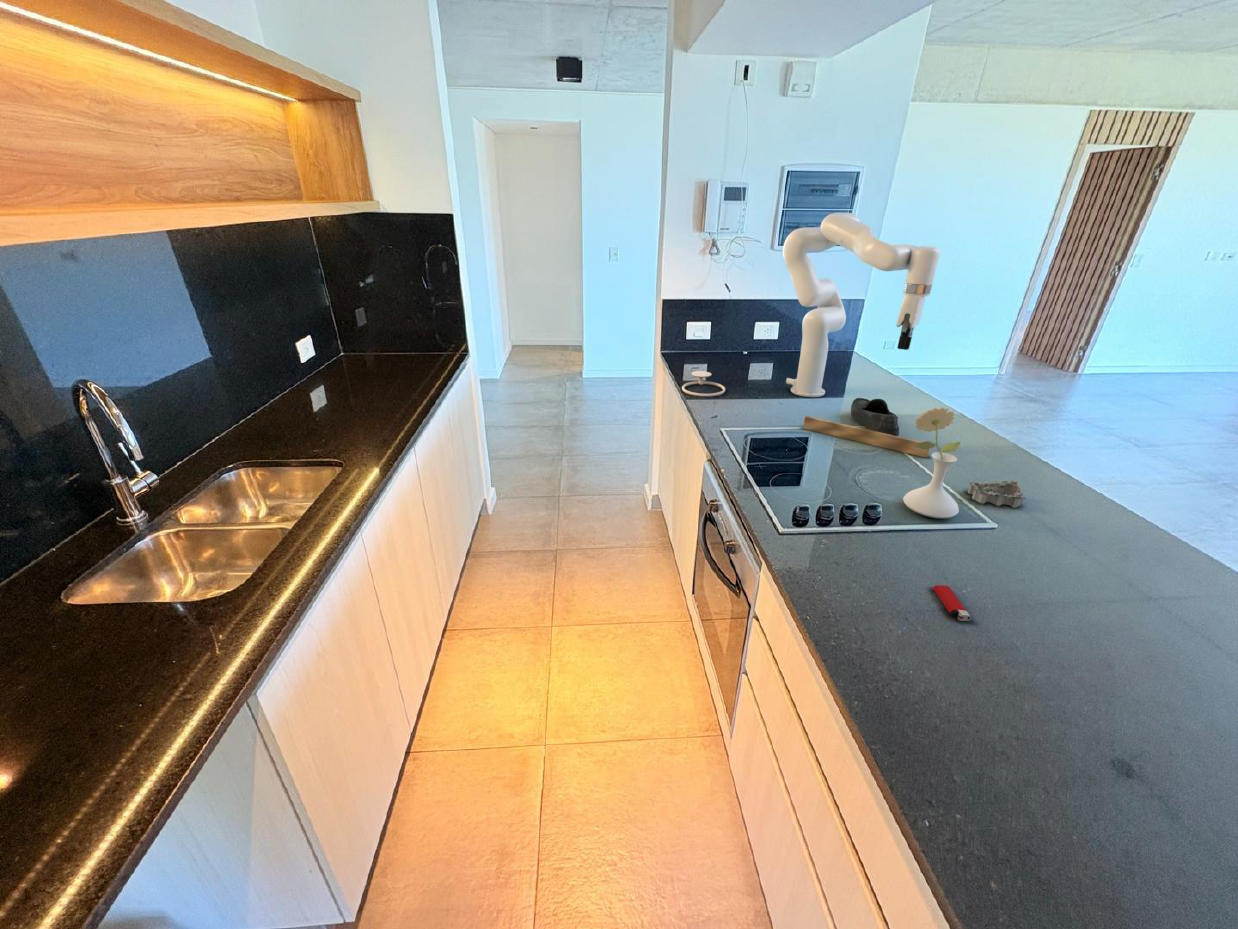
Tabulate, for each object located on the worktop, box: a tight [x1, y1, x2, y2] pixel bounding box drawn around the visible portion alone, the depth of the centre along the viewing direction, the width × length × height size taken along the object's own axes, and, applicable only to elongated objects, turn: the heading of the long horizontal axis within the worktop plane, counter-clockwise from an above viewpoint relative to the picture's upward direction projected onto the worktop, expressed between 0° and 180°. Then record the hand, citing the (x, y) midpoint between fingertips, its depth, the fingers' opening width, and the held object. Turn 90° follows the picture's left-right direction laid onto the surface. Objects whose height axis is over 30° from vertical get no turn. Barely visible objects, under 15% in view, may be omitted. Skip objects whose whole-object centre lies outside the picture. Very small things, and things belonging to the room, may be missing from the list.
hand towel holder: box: [681, 370, 726, 398], centre depth 207 cm, size 17×4×20 cm
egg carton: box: [967, 480, 1026, 508], centre depth 127 cm, size 11×8×4 cm
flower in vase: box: [902, 407, 961, 519], centre depth 118 cm, size 13×11×25 cm
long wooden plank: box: [802, 415, 930, 458], centre depth 159 cm, size 36×1×4 cm, turn 51°
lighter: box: [933, 584, 972, 622], centre depth 93 cm, size 3×1×8 cm
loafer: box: [850, 397, 900, 437], centre depth 168 cm, size 10×29×10 cm, turn 179°
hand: (903, 348), depth 171 cm, fingers closed
